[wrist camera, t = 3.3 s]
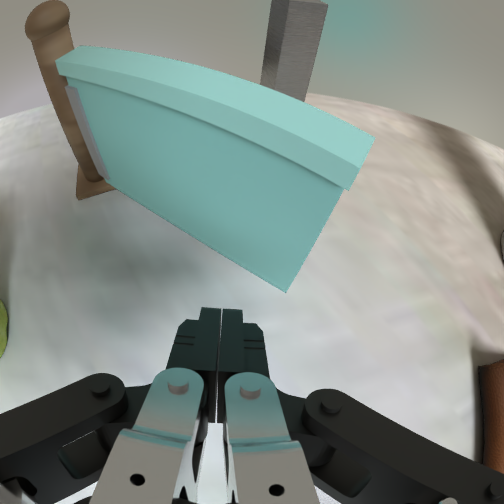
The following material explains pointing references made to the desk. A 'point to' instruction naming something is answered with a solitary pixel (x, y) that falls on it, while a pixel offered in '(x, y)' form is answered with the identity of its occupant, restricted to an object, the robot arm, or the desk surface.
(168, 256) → the desk surface
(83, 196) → the hinge post
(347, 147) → the gate
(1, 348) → the plant pot
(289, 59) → the latch post
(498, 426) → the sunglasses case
